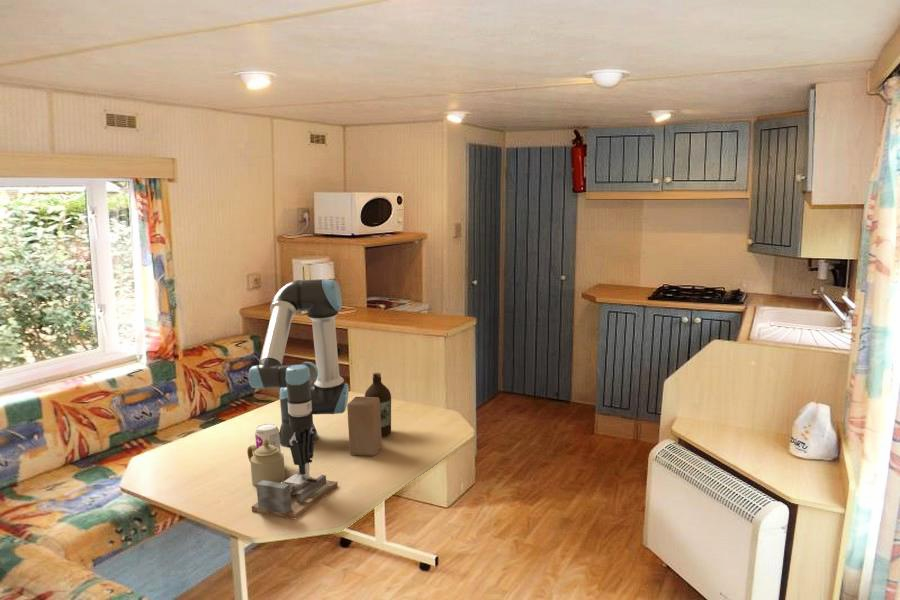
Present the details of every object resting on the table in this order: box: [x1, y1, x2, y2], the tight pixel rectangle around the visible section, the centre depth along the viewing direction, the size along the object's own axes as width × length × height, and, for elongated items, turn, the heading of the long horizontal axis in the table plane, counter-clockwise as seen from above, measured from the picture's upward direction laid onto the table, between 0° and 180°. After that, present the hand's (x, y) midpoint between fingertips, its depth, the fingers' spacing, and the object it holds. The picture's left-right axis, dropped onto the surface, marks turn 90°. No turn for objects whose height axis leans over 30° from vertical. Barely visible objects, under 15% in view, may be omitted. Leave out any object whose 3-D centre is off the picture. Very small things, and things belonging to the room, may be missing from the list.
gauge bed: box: [251, 470, 339, 520], centre depth 217 cm, size 16×24×10 cm, turn 158°
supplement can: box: [254, 423, 282, 453], centre depth 242 cm, size 8×8×15 cm
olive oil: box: [364, 372, 392, 438], centre depth 271 cm, size 11×11×25 cm
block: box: [346, 396, 383, 457], centre depth 254 cm, size 10×10×20 cm
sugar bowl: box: [247, 439, 286, 487], centre depth 231 cm, size 15×11×15 cm
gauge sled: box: [284, 473, 317, 495], centre depth 215 cm, size 10×11×5 cm
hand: (305, 482), depth 222 cm, fingers closed
